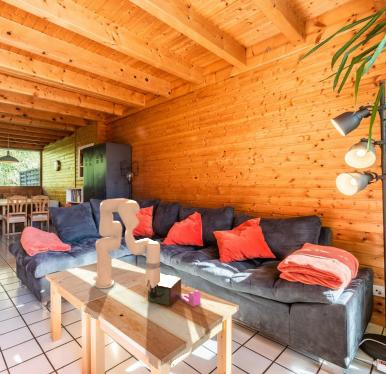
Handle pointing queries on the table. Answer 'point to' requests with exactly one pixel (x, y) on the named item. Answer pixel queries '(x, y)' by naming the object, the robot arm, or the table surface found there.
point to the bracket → (191, 298)
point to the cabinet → (171, 286)
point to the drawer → (161, 296)
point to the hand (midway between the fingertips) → (153, 297)
